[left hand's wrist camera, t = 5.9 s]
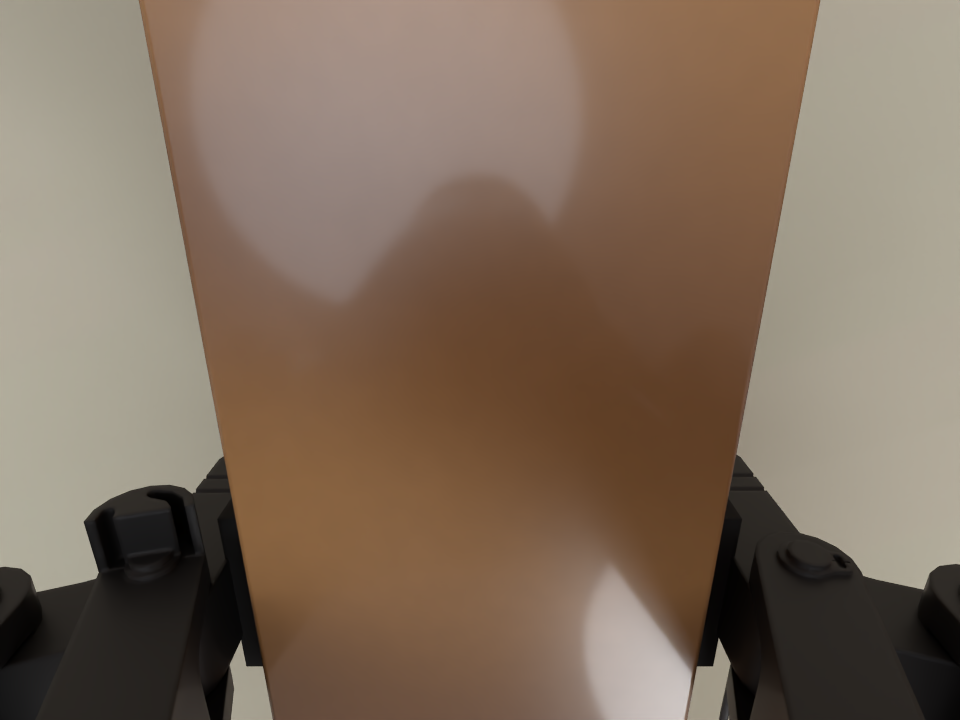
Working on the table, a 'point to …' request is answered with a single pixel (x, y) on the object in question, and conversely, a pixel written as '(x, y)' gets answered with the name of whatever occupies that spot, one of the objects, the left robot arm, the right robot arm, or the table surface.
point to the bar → (479, 330)
